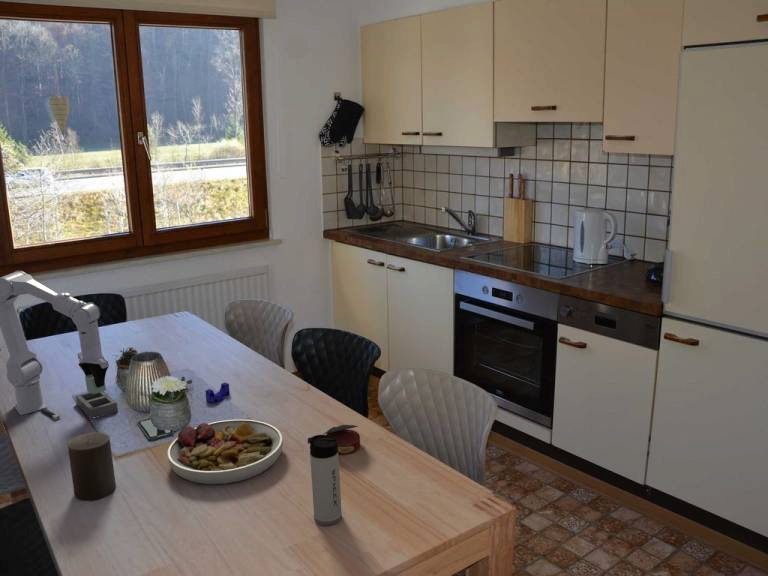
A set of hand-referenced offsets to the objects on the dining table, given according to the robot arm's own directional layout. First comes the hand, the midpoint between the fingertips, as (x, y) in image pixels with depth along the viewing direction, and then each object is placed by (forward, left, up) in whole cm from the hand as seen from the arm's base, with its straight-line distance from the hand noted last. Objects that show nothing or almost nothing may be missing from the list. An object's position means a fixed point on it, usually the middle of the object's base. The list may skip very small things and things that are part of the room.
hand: (96, 384), depth 224 cm
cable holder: (+17, +32, -9) cm, 38 cm away
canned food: (+71, +42, -9) cm, 83 cm away
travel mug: (+97, +19, -9) cm, 99 cm away
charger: (0, 0, -2) cm, 2 cm away
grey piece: (-4, 0, -9) cm, 10 cm away
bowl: (+56, +15, -10) cm, 59 cm away
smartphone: (+24, +8, -10) cm, 27 cm away
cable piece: (-9, -13, -9) cm, 18 cm away
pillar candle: (+48, -17, -9) cm, 52 cm away
